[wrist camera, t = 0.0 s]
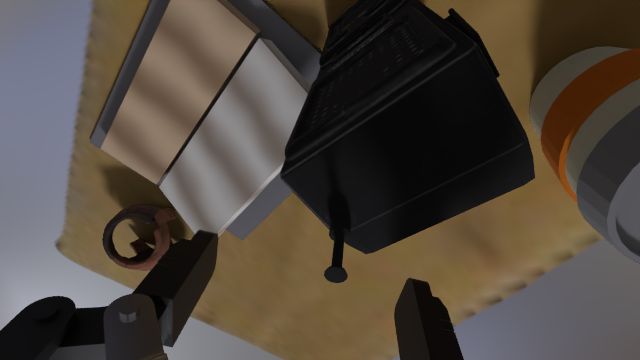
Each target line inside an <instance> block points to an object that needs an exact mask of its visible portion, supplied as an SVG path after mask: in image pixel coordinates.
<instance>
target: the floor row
mask: <svg viewBox="0 0 640 360" xmlns="http://www.w3.org/2000/svg"><path fill="white" fill-rule="evenodd" d="M260 32H261V30H260V29H259V28H258V27H257V26H256V25H255V24H253V23H252V22H251V21H250V20H249V19H248V18H247V17H245V16H244V15H243V14H242V13H241V12H240V11H239V10H237V9H236V8H235V7H234V6H233V5H232V4H231V3H230V2H228V1H227V0H170V3H169V5H168V7H167V9H166V11H165V13H164V15H163V17H162V19H161V22H160V24H159V26H158V28H157V30H156V32H155V34H154V36H153V39H152V41H151V43H150V45H149V47H148V49H147V51H146V53H145V55H144V58H143V60H142V62H141V64H140V66H139V68H138V70H137V72H136V74H135V77H134V79H133V81H132V83H131V85H130V87H129V89H128V91H127V94H126V96H125V98H124V100H123V102H122V104H121V106H120V108H119V110H118V113H117V115H116V117H115V119H114V121H113V123H112V125H111V127H110V129H109V132H108V134H107V136H106V138H105V140H104V142H103V144H102V146H101V150H103V151H105V152H106V153H108V154H109V155H111V156H112V157H114V158H116V159H117V160H119V161H120V162H122V163H123V164H125V165H126V166H128V167H130V168H131V169H133V170H134V171H136V172H137V173H139V174H141V175H142V176H144V177H145V178H147V179H148V180H150V181H151V182H153V183H155V184H157V183H158V182H159V181H160V180H161V179H162V178H163V177H164V176H165V174H166V173H167V171H168V170H169V168H170V167H171V165H172V164H173V162H174V161H175V159H176V158H177V156H178V155H179V153H180V152H181V150H182V149H183V147H184V146H185V144H186V143H187V141H188V140H189V138H190V137H191V135H192V134H193V132H194V131H195V129H196V128H197V126H198V125H199V123H200V122H201V120H202V119H203V117H204V116H205V114H206V113H207V111H208V110H209V108H210V107H211V105H212V104H213V102H214V101H215V99H216V98H217V96H218V95H219V93H220V92H221V90H222V89H223V87H224V86H225V84H226V83H227V81H228V80H229V78H230V77H231V75H232V74H233V72H234V71H235V69H236V68H237V66H238V65H239V63H240V62H241V60H242V59H243V57H244V56H245V54H246V53H247V51H248V50H249V48H250V47H251V45H252V44H253V42H254V41H255V39H256V38H257V36H258V35H259V33H260Z"/></svg>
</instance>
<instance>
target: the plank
mask: <svg viewBox="0 0 640 360" xmlns="http://www.w3.org/2000/svg"><path fill="white" fill-rule="evenodd" d="M310 88H311V86H310V85H309V83H308V82H307V81H306V80H305V79H304V78H303V77H302V75H301V74H300V73H299V72H298V71H297V70H296V69H295V67H294V66H293V65H292V64H291V63H290V62H289V60H288V59H287V58H286V57H285V56H284V55H283V54H282V52H281V51H280V50H279V49H278V48H277V47H276V45H275V44H274V43H273V42H272V41H271V40H267V39H262V38H259V39H258V41H257V42H256V44H255V45H254V47H253V48H252V50H251V51H250V52H249V54H248V55H247V57H246V58H245V60H244V61H243V63H242V64H241V66H240V67H239V69H238V70H237V72H236V73H235V75H234V76H233V78H232V79H231V81H230V82H229V84H228V85H227V87H226V88H225V90H224V91H223V93H222V94H221V96H220V97H219V99H218V100H217V102H216V103H215V105H214V106H213V108H212V109H211V111H210V112H209V114H208V115H207V116H206V118H205V119H204V121H203V122H202V124H201V125H200V127H199V128H198V130H197V131H196V133H195V134H194V136H193V137H192V139H191V140H190V142H189V143H188V145H187V146H186V148H185V149H184V151H183V152H182V154H181V155H180V157H179V158H178V160H177V161H176V163H175V164H174V166H173V167H172V169H171V170H170V172H169V173H168V175H167V176H166V178H165V179H164V180H163V182H162V183H161V185H160V186H159V188H160V189H161V191H162V192H163V193H164V195H165V196H166V197H167V198H168V200H169V201H170V202H171V204H172V205H173V206H174V207H175V209H176V210H177V211H178V213H179V214H180V215H181V216H182V218H183V219H184V220H185V222H186V223H187V224H188V225H189V227H190V228H191V229H192V231H193V232H194V233H195V234H196V232H197V231H198V230H204V231H209V232H213V233H217V234H218V237H219V236H220V235H221V234H222V233H223V232H224V230H225V229H226V228H227V227H228V226H229V225H230V224H231V223H232V222H233V221H234V220H235V219H236V218H237V217H238V216H239V215H240V214H241V213H242V211H243V210H244V209H245V208H246V207H247V206H248V205H249V204H250V203H251V202H252V201H253V200H254V199H255V198H256V197H257V196H258V195H259V194H260V192H261V191H262V190H263V189H264V188H265V187H266V186H267V185H268V184H269V183H270V182H271V181H272V180H273V179H274V178H275V177H276V176H277V175H278V174H279V172H280V171H281V169H282V166H283V164H284V161H285V159H286V158H285V147H286V145H287V142H288V140H289V138H290V135H291V133H292V130H293V128H294V126H295V123H296V121H297V119H298V116H299V114H300V112H301V109H302V107H303V105H304V102H305V100H306V98H307V95H308V93H309V90H310Z"/></svg>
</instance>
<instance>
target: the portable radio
mask: <svg viewBox="0 0 640 360" xmlns="http://www.w3.org/2000/svg"><path fill="white" fill-rule="evenodd" d="M448 12H449V14H450V15H449V16H448V17H447V18H445V19H443V18H442V17H440V16H439V15H438V14H436V13H435V12H433V11H432V10H431V9H429V8H428V7H427V6H425V5H424V4H422V3H421V2H420V1H418V0H359V1H358V2H357V3H355V4H354V5H353V6H352V7H351V8H350V9H349V10H347V11H346V12H345V13H344V14H343V15H342V16H341V17H340V18H338V19H337V20H336V21H335V22H334V23H333V24H332V25H330V26H329V31H328V36H327V39H326V42H325V45H324V48H323V51H322V54H321V56H320V59H319V64H320V70H319V73H318V76H317V78H316V80H315V81H314V82H313V83H312V86H311V88H310V90H309V93H308V95H307V98H306V100H305V102H304V105H303V107H302V109H301V112H300V114H299V116H298V119H297V121H296V123H295V126H294V128H293V130H292V133H291V135H290V138H289V140H288V142H287V145H286V147H285V158H286V159H285V161H284V164H283V166H282V169H281V172H280V177H281V180H282V181H283V182H284V183H285V184H286V185H287V186H288V187H289V188H290V189H291V190H292V191H293V192H294V193H295V194H296V195H297V196H298V197H299V199H300V200H301V201H302V202H303V203H304V204H305V205H306V206H307V207H308V208H309V209H310V210H311V211H312V212H313V213H314V214H315V215H316V216H317V217H318V218H319V219H320V220H321V221H322V222H323V223H324V224H325V226H326V227H327V228H328V229H329V230H330V232H329V236H330V238H331V239H332V240H334V248H333V257H332V266H330V267H329V268H327V269H326V270H325V273H324V276H325V278H326V279H327V280H329V281H330V282H334V283H340V282H344V281H345V280H346V279H347V276H348V275H347V273H346V271H345V269H344V268H342V260H343V248H344V242H345V243H346V244H348V245H349V246H351V247H353V248H355V249H357V250H359V251H361V252H363V253H365V254H368V253H373V252H376V251H378V250H380V249H382V248H384V247H387V246H389V245H391V244H393V243H396V242H398V241H400V240H402V239H405V238H407V237H409V236H411V235H413V234H416V233H418V232H420V231H422V230H425V229H427V228H429V227H431V226H434V225H436V224H438V223H440V222H442V221H445V220H447V219H449V218H451V217H454V216H456V215H458V214H460V213H463V212H465V211H467V210H469V209H472V208H474V207H476V206H478V205H480V204H483V203H485V202H487V201H489V200H492V199H494V198H496V197H498V196H501V195H503V194H505V193H507V192H510V191H512V190H514V189H516V188H519V187H521V186H523V185H525V184H526V183H528V182H529V181H531V180H532V179H534V178H535V173H534V163H533V155H532V152H531V148H530V144H529V141H528V137H527V135H526V132H525V130H524V129H523V127H522V125H521V123H520V121H519V119H518V117H517V116H516V114H515V112H514V110H513V108H512V106H511V105H510V103H509V101H508V99H507V97H506V95H505V93H504V92H503V90H502V88H501V86H500V84H499V82H498V80H497V79H496V78H497V77H499V75H500V74H499V73H498V71H497V69H496V67H495V65H494V63H493V61H492V59H491V57H490V55H489V53H488V51H487V49H486V47H485V45H484V44H483V42H482V40H481V38H480V36H479V34H478V33H477V32H476V31H475V30H474V29H473V28H472V27H471V26H470V25H469V24H468V23H467V22H466V21H465V20H464V19H463V18H462V17H461V16H460V15H459V14H458V13H457V12H456V11H455V10H454V9H453V8H451V9H449V11H448Z"/></svg>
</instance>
